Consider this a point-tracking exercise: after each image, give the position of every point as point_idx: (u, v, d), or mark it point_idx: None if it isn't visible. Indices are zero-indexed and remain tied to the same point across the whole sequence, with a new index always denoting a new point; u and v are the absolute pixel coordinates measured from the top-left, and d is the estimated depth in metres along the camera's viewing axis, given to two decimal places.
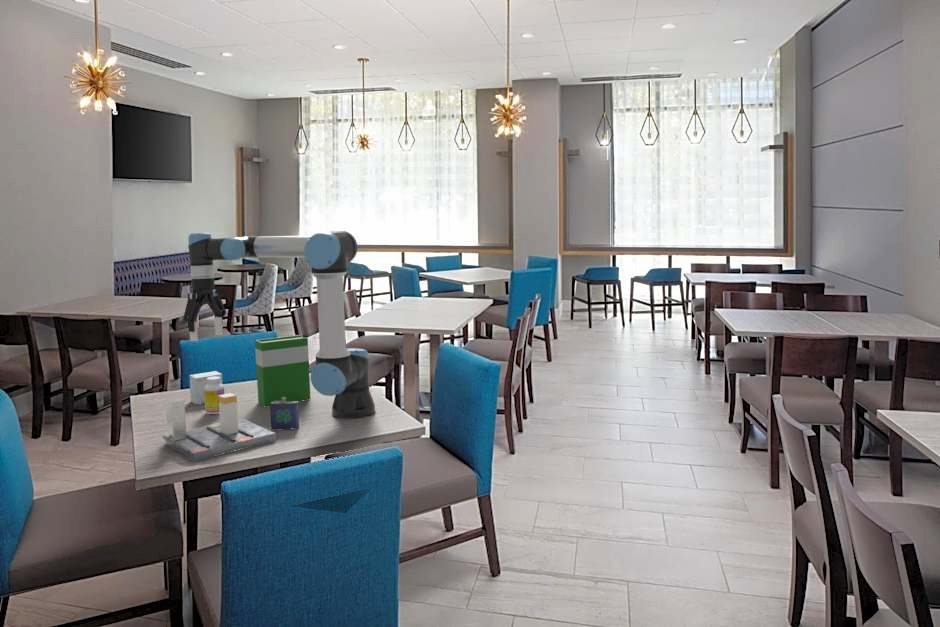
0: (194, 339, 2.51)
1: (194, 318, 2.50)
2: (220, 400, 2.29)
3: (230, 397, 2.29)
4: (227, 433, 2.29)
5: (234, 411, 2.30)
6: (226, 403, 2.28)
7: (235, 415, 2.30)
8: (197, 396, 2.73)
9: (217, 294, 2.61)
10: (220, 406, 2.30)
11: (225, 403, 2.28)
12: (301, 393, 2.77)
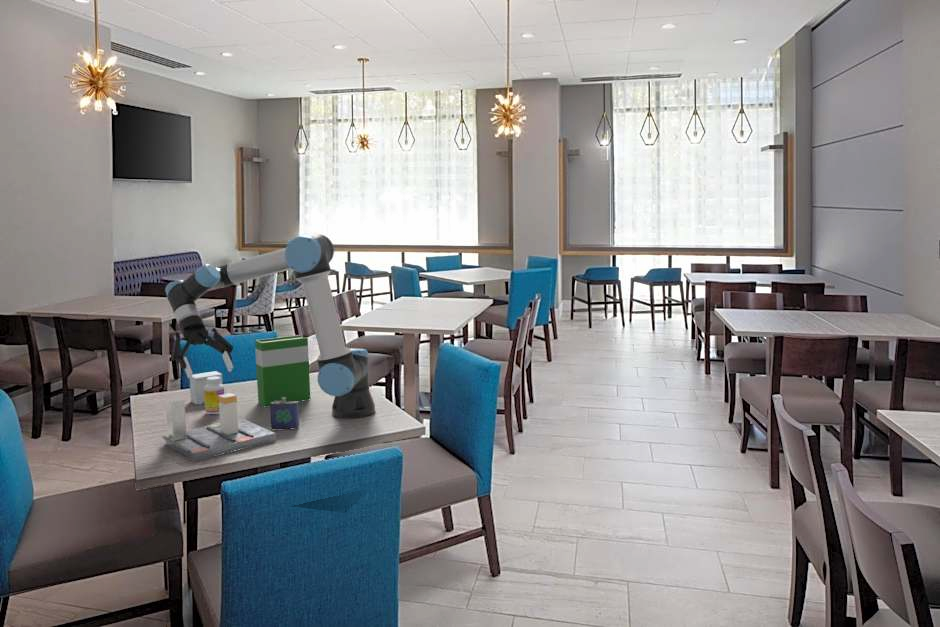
0: (189, 373, 2.32)
1: (181, 354, 2.35)
2: (220, 400, 2.29)
3: (230, 397, 2.29)
4: (227, 433, 2.29)
5: (234, 411, 2.30)
6: (226, 403, 2.28)
7: (235, 415, 2.30)
8: (197, 396, 2.73)
9: (214, 332, 2.46)
10: (220, 406, 2.30)
11: (225, 403, 2.28)
12: (301, 393, 2.77)
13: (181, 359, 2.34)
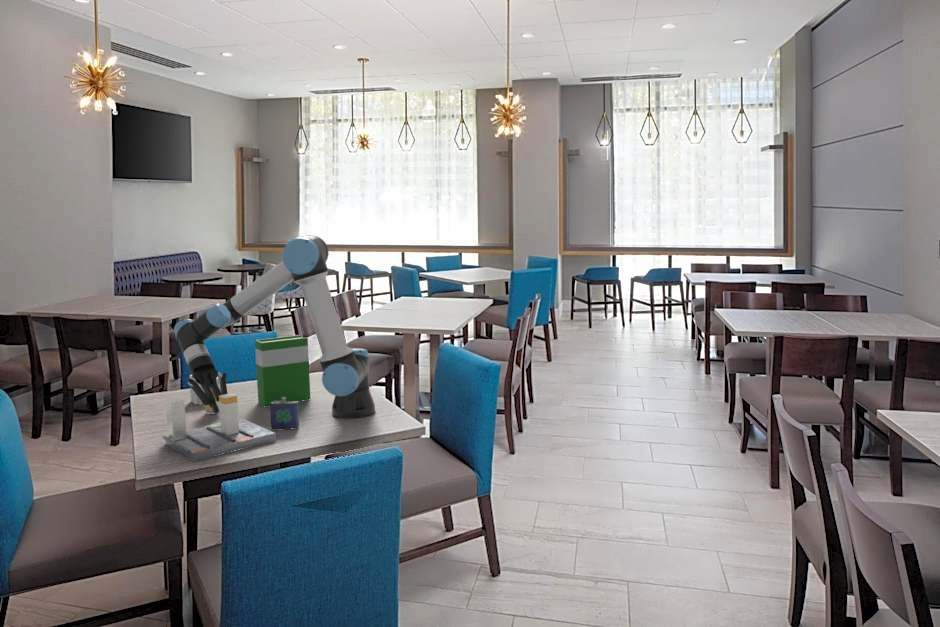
0: None
1: (212, 398, 2.35)
2: (221, 401, 2.29)
3: (231, 397, 2.28)
4: (228, 433, 2.29)
5: (235, 411, 2.30)
6: (227, 403, 2.28)
7: (236, 415, 2.30)
8: (197, 396, 2.73)
9: (222, 376, 2.42)
10: (221, 406, 2.29)
11: (226, 403, 2.27)
12: (301, 393, 2.77)
13: (214, 404, 2.34)
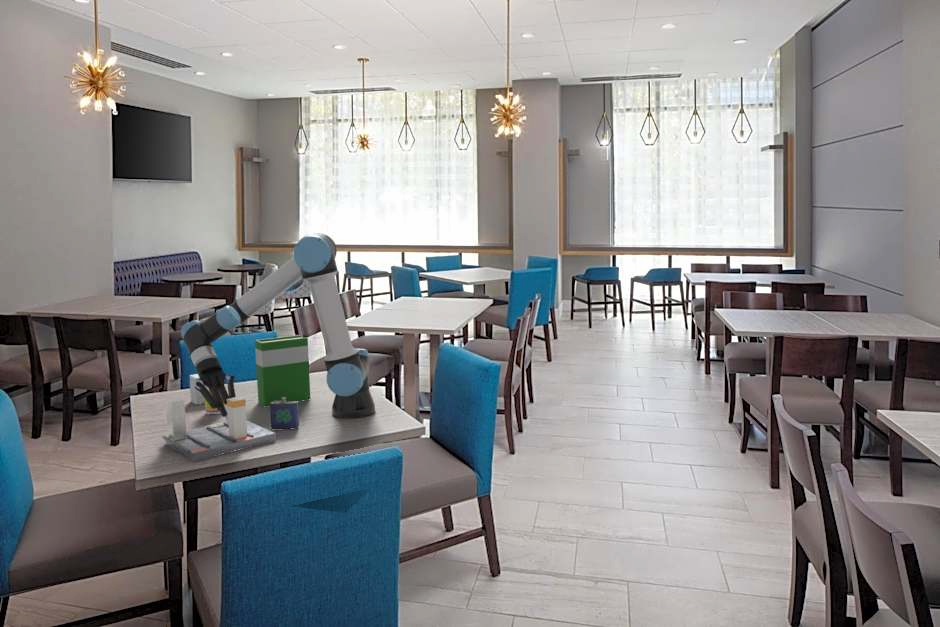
0: None
1: (220, 401, 2.31)
2: (229, 404, 2.25)
3: (239, 401, 2.24)
4: (236, 437, 2.25)
5: (243, 415, 2.26)
6: (235, 407, 2.24)
7: (244, 419, 2.26)
8: (197, 396, 2.73)
9: (230, 379, 2.38)
10: (229, 410, 2.25)
11: (234, 407, 2.23)
12: (301, 393, 2.77)
13: (222, 407, 2.30)
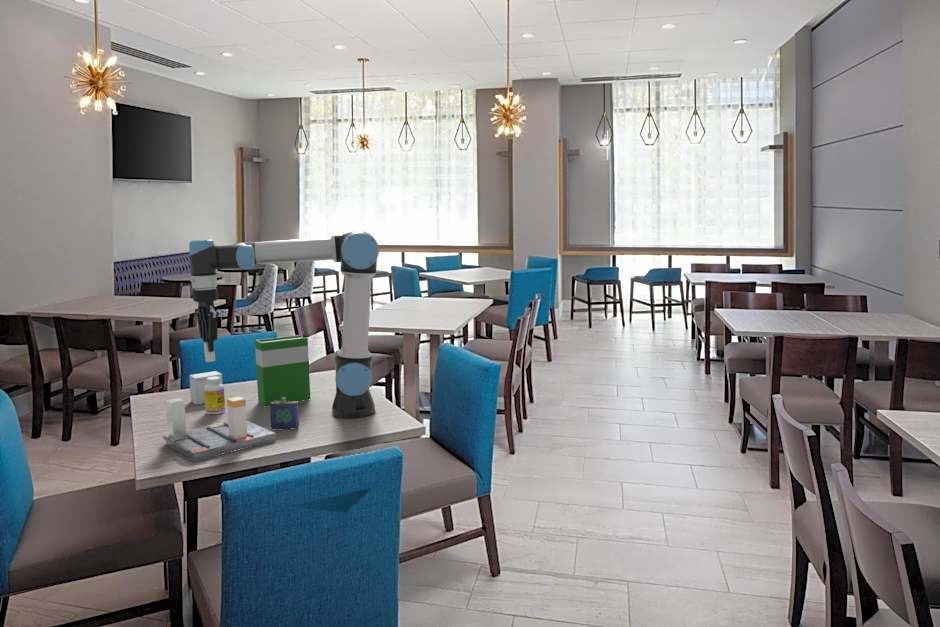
0: (212, 359, 2.36)
1: None
2: (229, 404, 2.25)
3: (239, 401, 2.24)
4: (236, 437, 2.25)
5: (243, 415, 2.26)
6: (235, 407, 2.24)
7: (244, 419, 2.26)
8: (197, 396, 2.73)
9: None
10: (229, 410, 2.25)
11: (234, 407, 2.23)
12: (301, 393, 2.77)
13: None
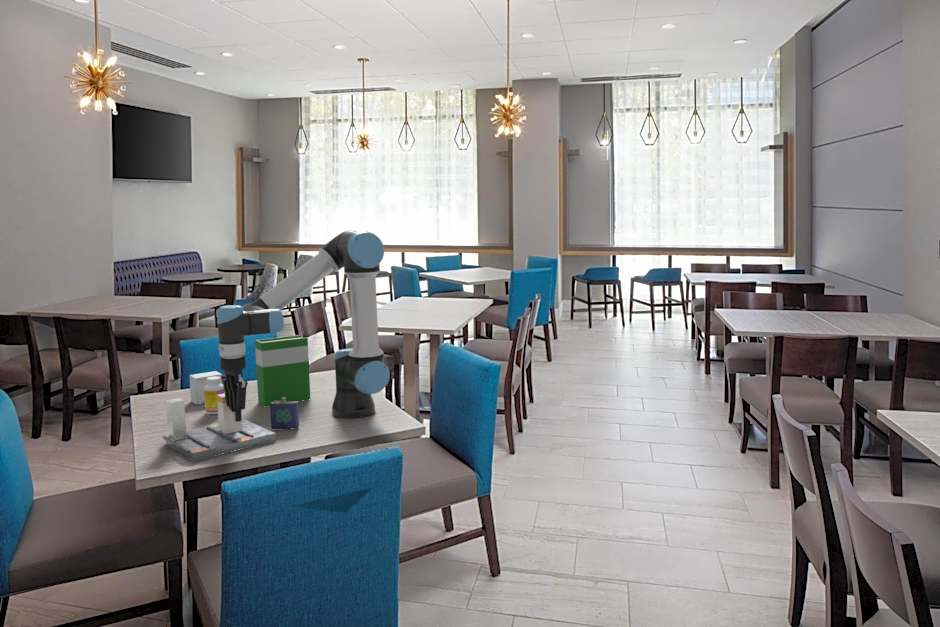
0: (239, 428, 2.27)
1: None
2: (219, 400, 2.30)
3: None
4: (226, 432, 2.30)
5: None
6: (225, 402, 2.29)
7: None
8: (197, 396, 2.73)
9: None
10: (219, 405, 2.30)
11: (224, 402, 2.28)
12: (301, 393, 2.77)
13: None
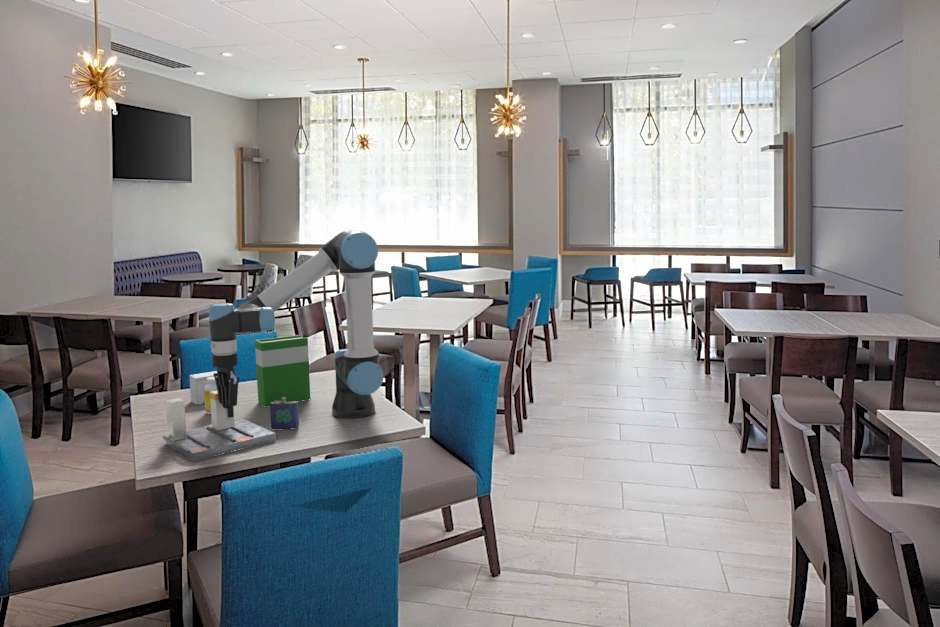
0: (231, 425, 2.31)
1: None
2: (212, 397, 2.34)
3: None
4: (218, 429, 2.34)
5: None
6: (217, 399, 2.32)
7: None
8: (197, 396, 2.73)
9: None
10: (211, 402, 2.34)
11: (216, 399, 2.32)
12: (301, 393, 2.77)
13: None
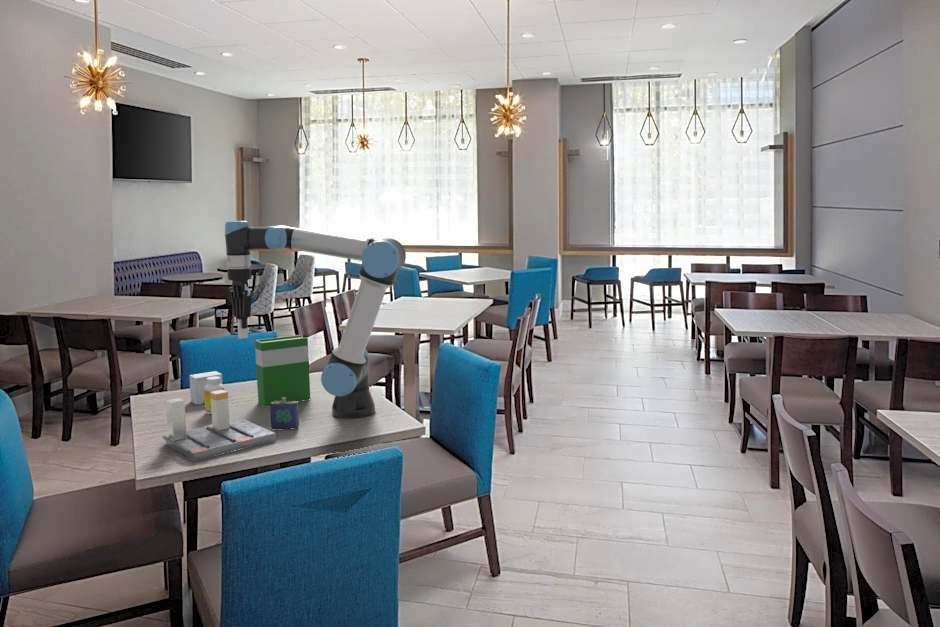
0: (245, 336, 2.46)
1: None
2: (212, 397, 2.33)
3: (221, 393, 2.33)
4: (219, 429, 2.34)
5: (225, 407, 2.34)
6: (218, 399, 2.32)
7: (226, 411, 2.35)
8: (197, 396, 2.73)
9: None
10: (212, 402, 2.34)
11: (217, 399, 2.32)
12: (301, 393, 2.77)
13: None
